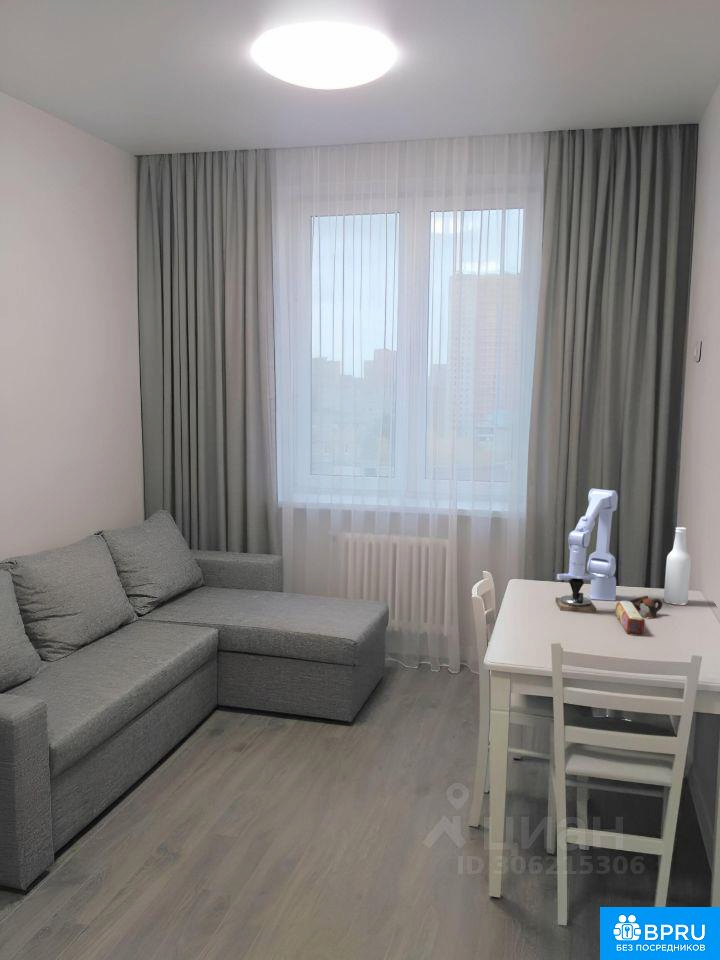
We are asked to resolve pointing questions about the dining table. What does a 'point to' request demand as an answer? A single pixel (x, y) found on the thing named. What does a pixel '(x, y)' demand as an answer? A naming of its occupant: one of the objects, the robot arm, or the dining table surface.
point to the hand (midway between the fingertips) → (575, 598)
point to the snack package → (630, 618)
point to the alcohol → (677, 570)
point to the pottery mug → (649, 603)
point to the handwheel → (576, 600)
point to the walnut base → (575, 607)
